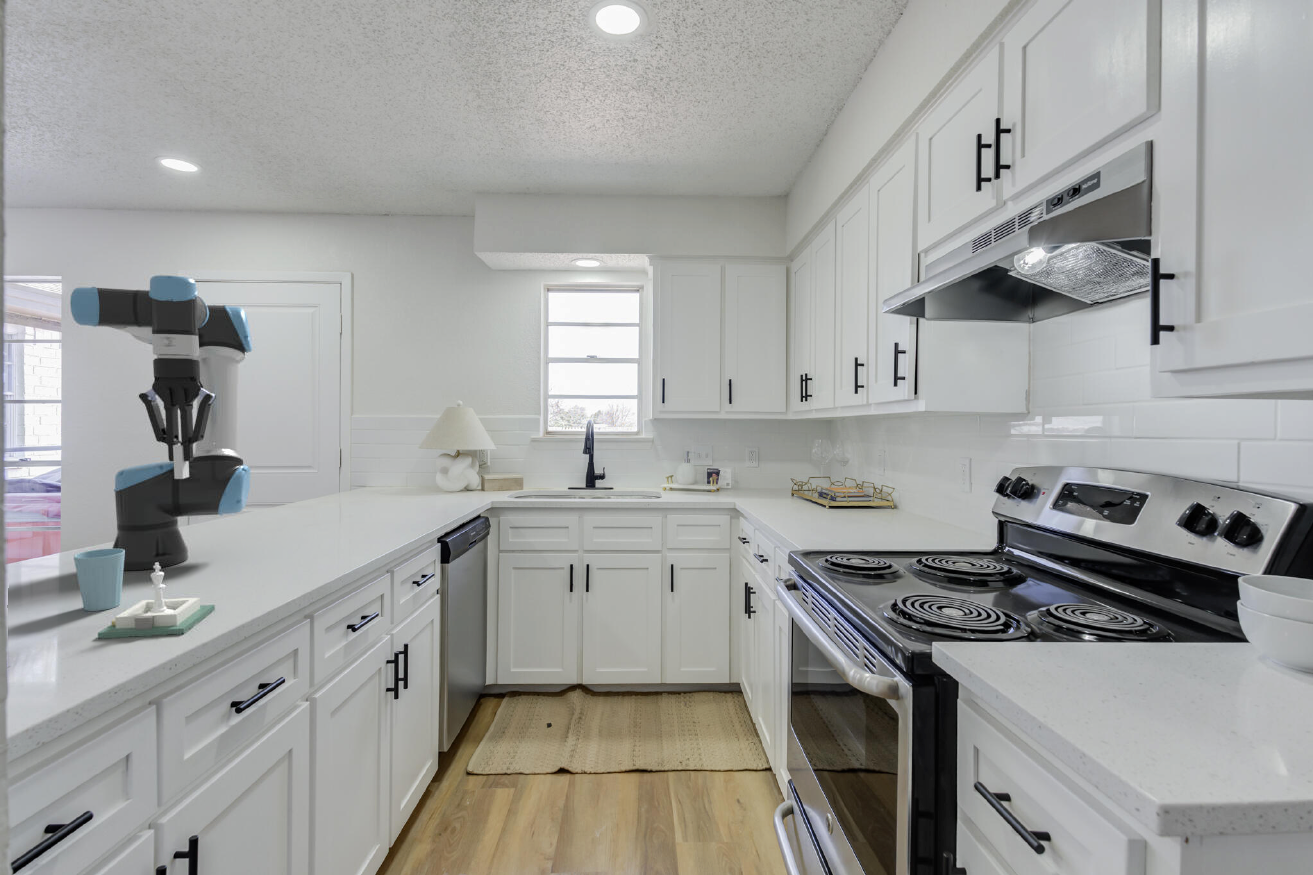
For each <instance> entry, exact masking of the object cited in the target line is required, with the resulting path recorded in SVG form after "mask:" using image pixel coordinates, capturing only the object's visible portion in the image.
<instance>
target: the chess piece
mask: <svg viewBox="0 0 1313 875" xmlns="http://www.w3.org/2000/svg"><path fill="white" fill-rule="evenodd" d="M153 567H154V568H153V569H154V570H155V571H154V572H152V573H151V574H150V578H151V580H152V583H153V585H152V586H151V587H150V589H151V590H154V598H153V600H154V606H153V609H151V612H148V613H168V612H173V611H174V610H171V609H166V608H167V607H165V605H164V601H163V599H164V596H163V590H162V589H164V588H165V587H166V585H165V584H163V583H162V582H163V579H164V576H165V573H164V572H163V571H160V570H161V569H162V567H160V566H159V563H158V562H157V563H155V566H153ZM146 614H147V613H146Z"/></svg>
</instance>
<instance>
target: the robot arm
mask: <svg viewBox="0 0 1313 875" xmlns="http://www.w3.org/2000/svg"><path fill="white" fill-rule="evenodd" d="M198 293H199V292H198V290H197V284H196V280H195V279H194V278H191V277H187V276H186V277H185V276H178V275H163V274H162V275H153V276H152V277H151V278H150V279H149V290H146V289H122V288H106V287H105V288H104V287H96V286H92V287H81V286H79V287H76V288H74V289H73V290H72V291H71V295H70V302H69V305H70V312H71V316H72V319H73V320H74V321H75V323H76V324H78V325H79V326H89V327H93V328H95V327H105V328H106V327H107V328H112V329H114V330H118V331H121V332H124V333H126V334H130V335H131V336H132V337H133V338H134V339H136V340H137V341H140V342H141V343H145V344H149V345H151V347H152V355H154V356H156V358H153V360H152V364H153V365H152V366H153V377H154V379H153V380H154V381H153V383H152V384H151V388H150V389H149V390H147V391H146V392H140V393H139V394H138V399H140V401H141V402H142V403H143V405H144V406H145V409H146V413H147V416H148V418H149V421H150V424H151V428H152V432H153V434H154V436H155V440H156V442H157V443H158V442H159V443H162V444H166V445H167V453H168V454H167V455H168V460H169V461H160V462H153V463H146V464H141V465H135V466H131V467H126V468H123V469H121V470H119V471H118V472H116V474H115V478H114V481H115V482H114V489H113V492H114V493H115V494H114V495H115V496H114V498H115V512H116V530H117V531H116V532H117V533H116V536H115V539H114V542H113V544H112V548H111V549H123V550H125V557H124V568H123V571H141V570H142V571H143V570H151V569H154V567H153V566H155V563H157V562H158V563H159V566H160V567H161V568H165V567H170V566H174V565H178V564H180V563H184V562H185V561H187V560H188V559H189V551H188V550H189V549H188V547H187V543H186V542H185V540H184V538H183V535H182V533H181V531H180V529H179V520H178V519H179V518H180V517H181V518H182V517H198V516H199V517H201V516H202V517H203V516H218V515H219V516H224V515H228V514H229V515H230V514H232V515H233V514H238V513H240V512H242V511H243V509H244V508H245V506H246V504H247V501H248V497H249V492H250V486H251V468H250V467H249V466H248V465H246V464H244V458H243V457H241V456H240V455H239V454H238V452H237V444H238V443H237V439H238V438H237V435H238V434H237V431H238V430H237V428H238V426H237V425H238V372H239V370H238V369H239V367H238V366H239V364H241V363H242V362H243V361H245V359H246V357H245V356H246V354H245V353H251V352H252V350H253V346H252V338H251V331H250V326H249V322H248V317H247V313H246V311H245V310H244V309H243V308H241V307H240V306H232V305H231V306H229V305H225V304H222V305H212V304H211V305H209V304H207V303H206V302H205V301H204V300H203V299H202V297H200V296H199V295H198ZM158 398H159V399H160V400H161V402H163V409H164V412H165V421H164V418H163V415H162V412H161V409H160V406H159V403H158V401H157V400H158ZM195 401H196V417H195V422H194V419H193V417H194V416H193V409H194V402H195ZM179 418H180V431H179ZM180 439H181V440H180ZM194 444H195V448H194ZM194 450H195V451H194Z"/></svg>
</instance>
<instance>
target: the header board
mask: <svg viewBox="0 0 1313 875" xmlns="http://www.w3.org/2000/svg"><path fill="white" fill-rule="evenodd" d="M163 601H164V605H165V607H167V608H166V609H171V610H174V611H173V612H168V613H148V612H151V609H153V606H154V599H142V600H141V601H139V602H138V603H136V604H134V605H133V606H131V607H130V608H127V609H126V610H124V611H123V612H121V613H119V614H118V615H116V616H115V620H112V621H111V624H110V625H108V626H107V627H105V628H103V629H101V630H100V631H99V632H97V639H98V638H101V639H116V638H117V639H119V638H130V637H129V636H132V637H131V638H134V637H133V636H139V637H151V636H150V635H158V636H168V635H167V634H177V635H185V634H186V633H187V632H189V631H190V630H191V629H192V627H193V626H194V625H195V624H196V623H197V622H199V621H200V620H201V621H203V620H204V619H205V618H207V616H206V615H208V614H209V613H210V614H212V613H211V611H213V610H214V611H215V610H216V605H215V604H202V605H201V598H200V597H188V598H187V597H183V598H163ZM214 611H213V612H214ZM146 613H147V614H146ZM210 614H209V615H210ZM209 615H208V616H209ZM204 617H205V618H204ZM203 618H204V619H203ZM202 619H203V620H202ZM201 621H200V622H201ZM200 622H199V623H200ZM196 625H197V624H196ZM196 625H195V626H196ZM195 626H194V627H195ZM194 627H193V628H194ZM190 628H191V629H190ZM189 629H190V630H189ZM188 630H189V631H188ZM186 631H187V632H186ZM182 633H183V634H182ZM184 633H185V634H184ZM118 637H119V638H118Z"/></svg>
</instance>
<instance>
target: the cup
mask: <svg viewBox="0 0 1313 875" xmlns="http://www.w3.org/2000/svg"><path fill="white" fill-rule="evenodd" d="M124 557H125V550H123V549H112V548H101V549H91V550H86V551H82V552H79V553H76V554H74V555H73V560H74V566H75V571H76V575H77V580H78V584H79V590H80V595H81V601H82V605H83V609H84V610H85V611H88V612H98V611H106V610H110V609H114V608H116V607H118V606H120V605H121V604H122V602H121V601H122V590H123V589H122V588H123V580H124V579H123V578H124V570H123V568H124Z"/></svg>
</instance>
